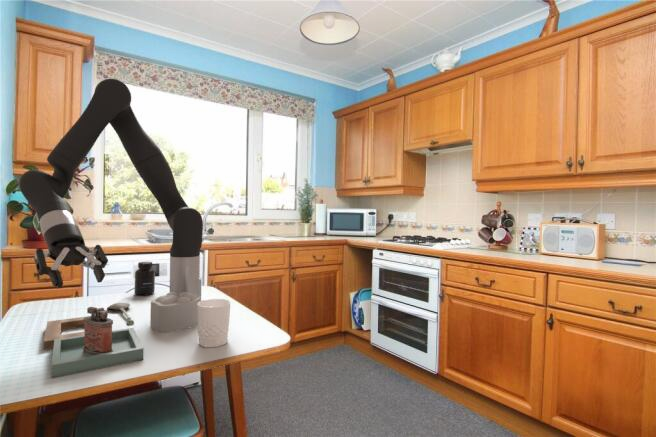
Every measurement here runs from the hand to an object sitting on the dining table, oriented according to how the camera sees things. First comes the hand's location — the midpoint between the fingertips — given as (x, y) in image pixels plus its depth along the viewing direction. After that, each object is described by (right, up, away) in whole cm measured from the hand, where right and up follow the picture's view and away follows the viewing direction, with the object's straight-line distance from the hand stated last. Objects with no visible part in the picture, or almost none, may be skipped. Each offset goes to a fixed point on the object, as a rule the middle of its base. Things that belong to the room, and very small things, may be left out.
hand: (81, 283), depth 86 cm
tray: (+7, -15, -5) cm, 17 cm away
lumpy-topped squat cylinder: (+16, -15, +18) cm, 28 cm away
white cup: (+30, -16, +4) cm, 34 cm away
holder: (-7, -15, +8) cm, 18 cm away
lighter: (+7, -15, -4) cm, 17 cm away
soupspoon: (-4, -15, +25) cm, 29 cm away
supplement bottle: (-11, -13, +51) cm, 54 cm away
